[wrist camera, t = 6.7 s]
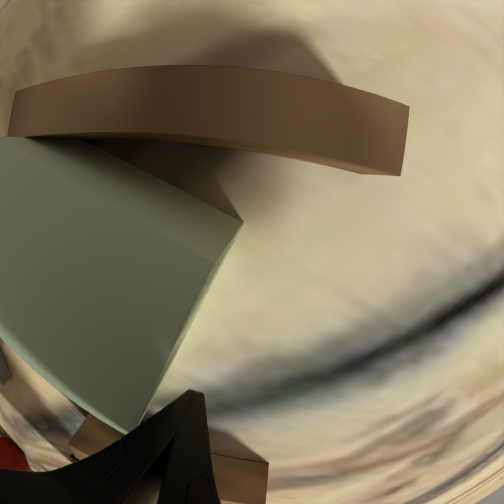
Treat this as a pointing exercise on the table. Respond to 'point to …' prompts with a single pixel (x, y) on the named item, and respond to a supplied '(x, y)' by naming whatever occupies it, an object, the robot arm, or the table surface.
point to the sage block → (100, 271)
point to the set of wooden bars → (218, 135)
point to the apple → (12, 456)
